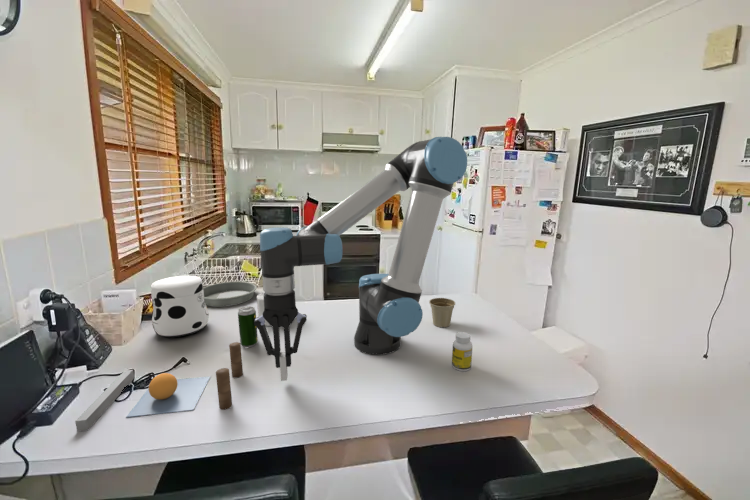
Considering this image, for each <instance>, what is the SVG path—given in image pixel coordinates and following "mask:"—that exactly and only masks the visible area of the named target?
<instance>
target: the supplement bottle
mask: <svg viewBox="0 0 750 500" xmlns="http://www.w3.org/2000/svg"><path fill="white" fill-rule="evenodd" d="M472 360H473V343H472V342H471V334H470V333H468V332H466V331H465V332H464V331H459V332H456V333H455V340H453V342H452V355H451V366H452V367H453V368H454V369H455V370H457V371H459V372H466V371H467V372H468V371H469V370H471V369H472Z"/></svg>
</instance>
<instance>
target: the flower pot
mask: <svg viewBox="0 0 750 500" xmlns="http://www.w3.org/2000/svg"><path fill="white" fill-rule="evenodd" d="M428 302H429V305H430V308H431V316H432V324H433V326H435V327H439V328H443V327H444V328H448V327H450V326H451V322H452V317H453V316H452V315H453V310H454V307H455V306H456V301H455V300H453V299H451V298H447V297H434V298H432V299H430V300H428Z"/></svg>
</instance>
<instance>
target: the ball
mask: <svg viewBox="0 0 750 500" xmlns="http://www.w3.org/2000/svg"><path fill="white" fill-rule="evenodd" d="M177 379H178V378H177V377H176V376H175V375H174V374H173V373H172V374H171V373H168V372H162V373H160V374H158V375H156V376H155V377H153V378H152V379H151V381H150V382H149V384H148V388H149V393H150V395H151V396H152V397H153V398H155V399H159V400H162V399H166V398H168V397H170V396H171V395H173V393H174V392H175V391H176V389H177Z"/></svg>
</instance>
